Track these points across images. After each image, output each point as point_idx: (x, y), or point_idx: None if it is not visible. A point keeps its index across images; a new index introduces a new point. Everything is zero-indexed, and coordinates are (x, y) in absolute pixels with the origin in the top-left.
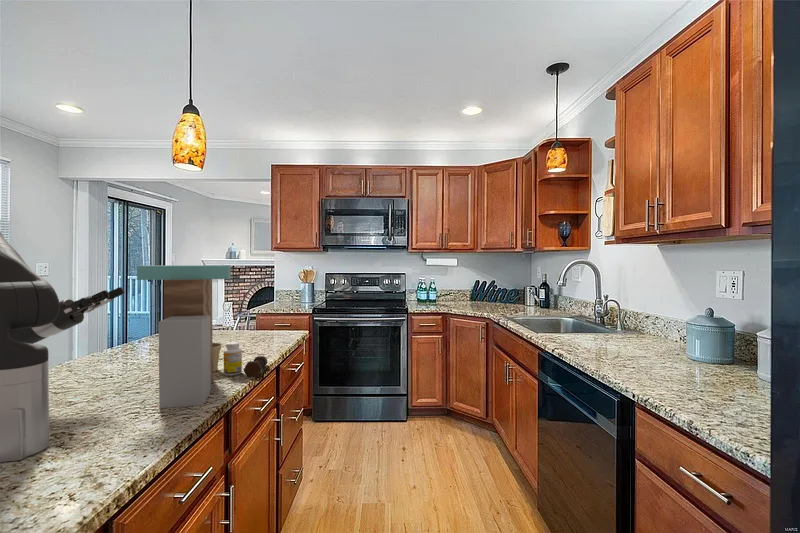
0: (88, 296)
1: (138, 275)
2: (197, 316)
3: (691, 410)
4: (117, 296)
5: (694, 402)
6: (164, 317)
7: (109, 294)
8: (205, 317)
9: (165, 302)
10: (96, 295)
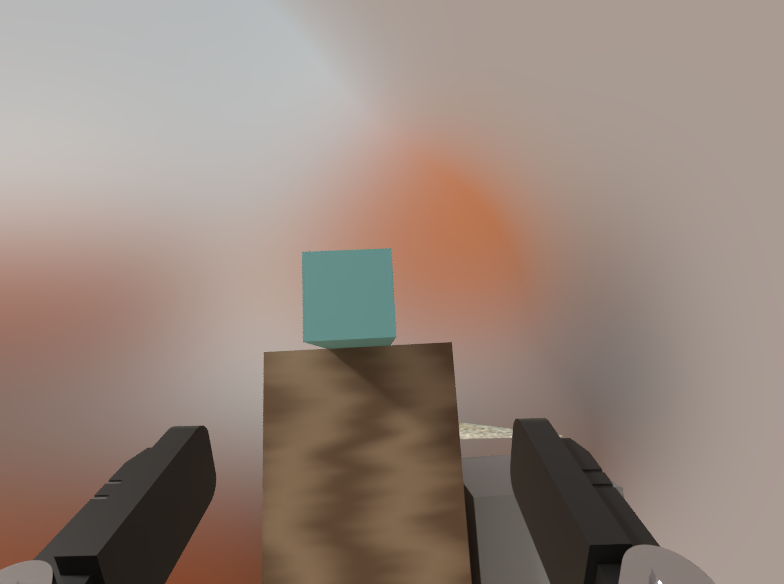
0: (676, 567)
1: (394, 310)
2: (473, 466)
3: (503, 435)
4: (178, 558)
5: (488, 433)
6: (465, 516)
7: (109, 581)
8: (494, 456)
9: (458, 442)
10: (617, 494)
